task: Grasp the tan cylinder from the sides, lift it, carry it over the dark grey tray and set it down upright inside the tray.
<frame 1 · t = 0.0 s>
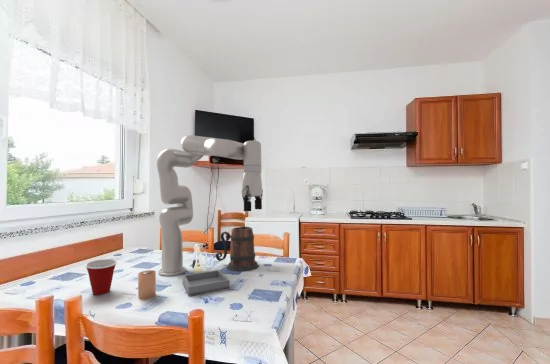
hand: (253, 210, 117), 31 cm above the table, fingers open, 9 cm apart
tray: (205, 286, 114), on the table
plastic cup: (101, 293, 109), on the table
tankard: (237, 266, 143), on the table
tan cylinder: (147, 296, 105), on the table
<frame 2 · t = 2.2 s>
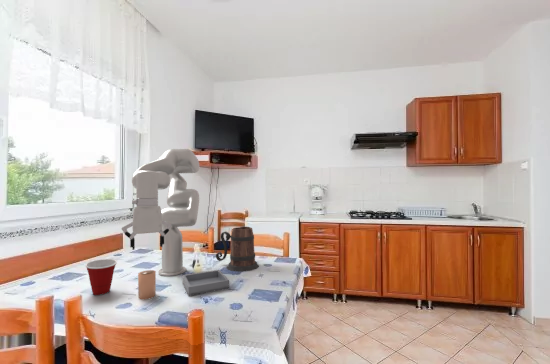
hand: (147, 247, 105), 18 cm above the table, fingers open, 9 cm apart
nothing on the table moved.
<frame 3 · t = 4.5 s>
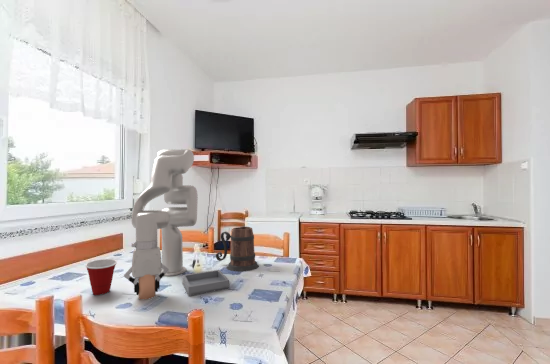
hand: (147, 291, 105), 2 cm above the table, fingers closed on tan cylinder, 6 cm apart
tan cylinder: (147, 296, 105), on the table, touching gripper
everything else where it was.
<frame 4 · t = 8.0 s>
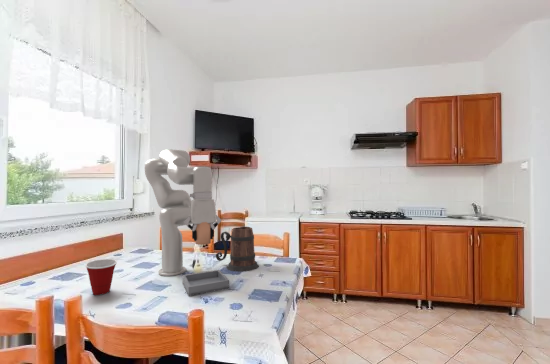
hand: (203, 239, 114), 20 cm above the table, fingers closed on tan cylinder, 6 cm apart
tan cylinder: (203, 243, 114), point 18 cm above the table, touching gripper
everything else where it was.
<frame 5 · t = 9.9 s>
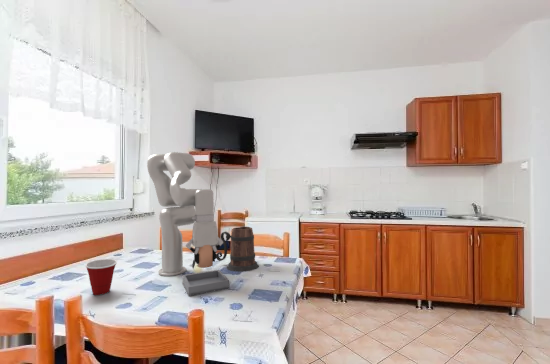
hand: (205, 261, 114), 10 cm above the table, fingers closed on tan cylinder, 6 cm apart
tan cylinder: (205, 265, 114), point 9 cm above the table, touching gripper
everything else where it was.
when the fingers open (4 cm above the table, at t = 11.6 s): tan cylinder drops 1 cm, resting on tray.
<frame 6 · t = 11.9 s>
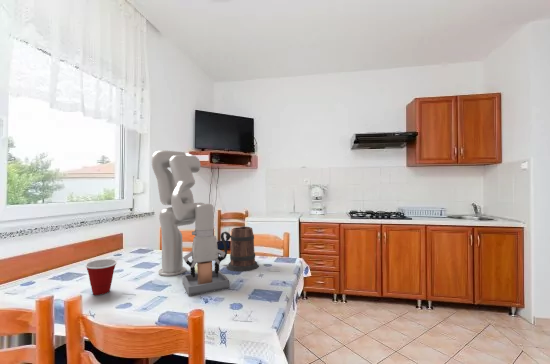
hand: (205, 274, 115), 5 cm above the table, fingers open, 9 cm apart
tan cylinder: (205, 283, 114), point 1 cm above the table, touching tray
everything else where it was.
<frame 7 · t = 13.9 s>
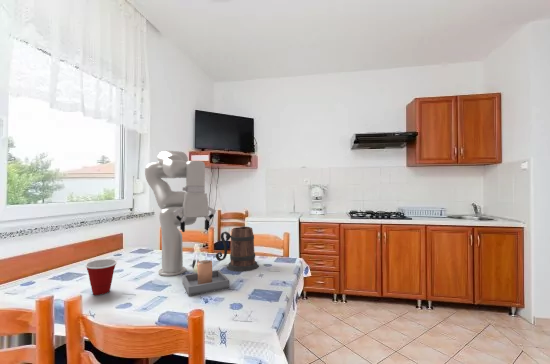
hand: (195, 230, 116), 23 cm above the table, fingers open, 9 cm apart
nothing on the table moved.
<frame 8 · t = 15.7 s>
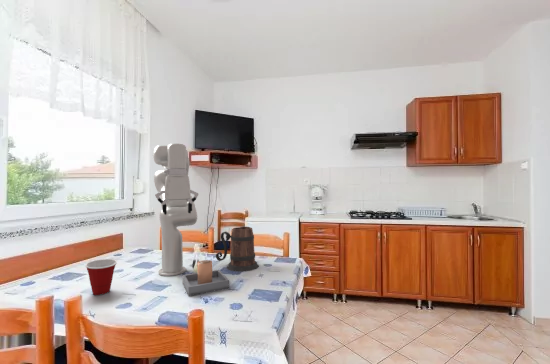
hand: (177, 213, 116), 30 cm above the table, fingers open, 9 cm apart
nothing on the table moved.
at the end: tan cylinder inside the target area on the tray (0.1 cm from its centre), point 1.0 cm above the tray's base; tan cylinder tilted 0°; the gripper is holding nothing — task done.
